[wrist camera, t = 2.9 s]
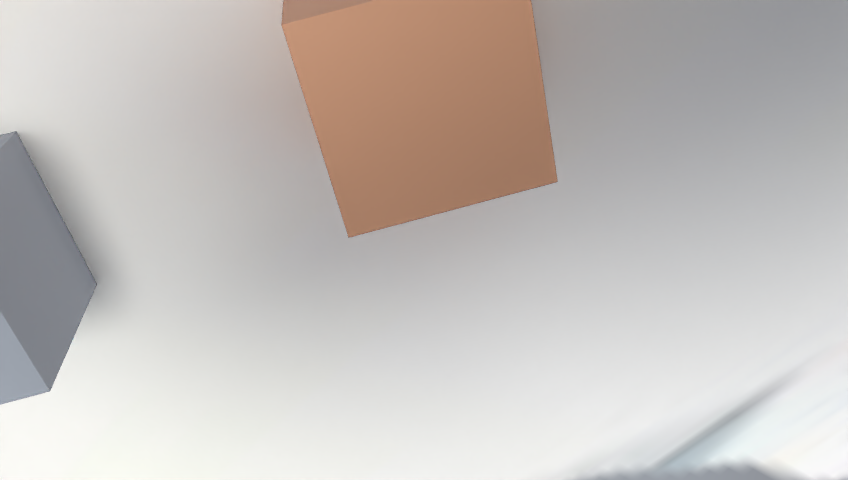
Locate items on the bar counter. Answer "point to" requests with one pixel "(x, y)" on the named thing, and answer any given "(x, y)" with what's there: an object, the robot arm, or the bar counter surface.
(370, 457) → the bar counter surface
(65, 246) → the grey cube
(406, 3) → the rust cube
